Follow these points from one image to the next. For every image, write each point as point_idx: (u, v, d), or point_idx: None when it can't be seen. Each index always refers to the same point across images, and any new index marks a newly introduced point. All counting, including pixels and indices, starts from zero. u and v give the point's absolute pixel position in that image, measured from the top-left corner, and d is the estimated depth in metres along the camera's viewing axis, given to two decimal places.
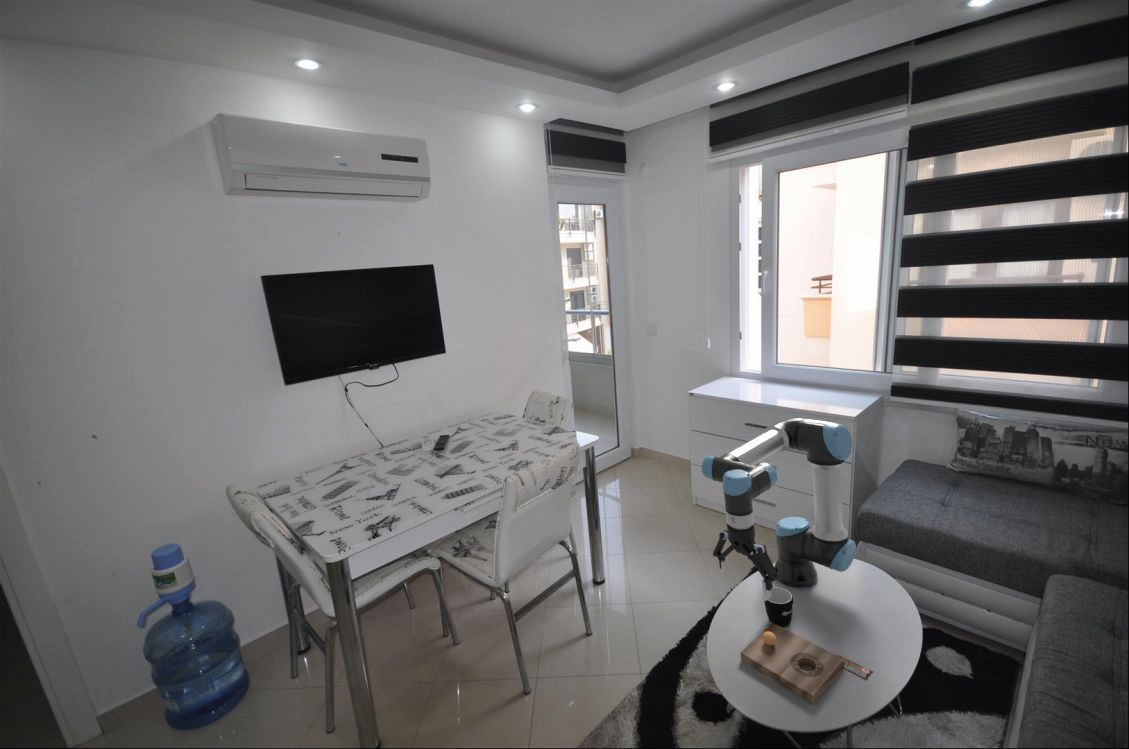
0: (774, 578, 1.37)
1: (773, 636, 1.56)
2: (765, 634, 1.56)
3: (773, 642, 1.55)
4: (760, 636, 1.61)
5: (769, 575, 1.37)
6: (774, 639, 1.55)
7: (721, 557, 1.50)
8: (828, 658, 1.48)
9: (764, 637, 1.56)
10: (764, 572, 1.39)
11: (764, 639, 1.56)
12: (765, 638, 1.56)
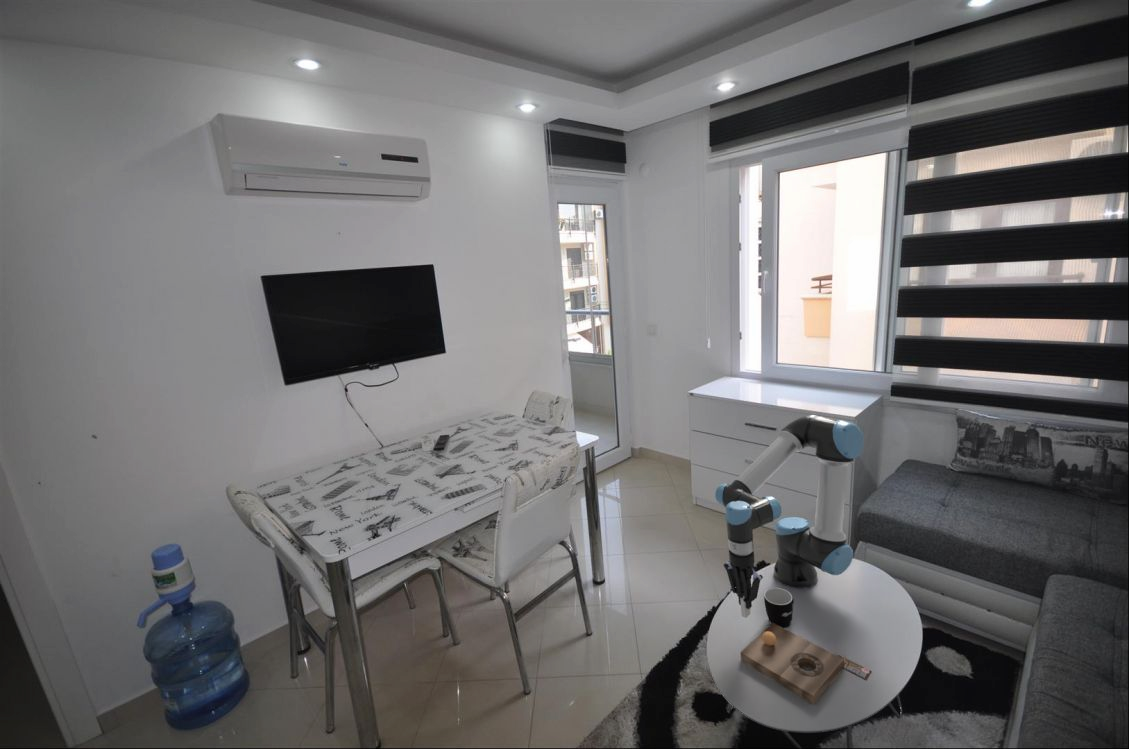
0: None
1: (773, 636, 1.56)
2: (765, 634, 1.56)
3: (773, 642, 1.55)
4: (760, 636, 1.61)
5: (751, 596, 1.57)
6: (774, 639, 1.55)
7: (738, 592, 1.60)
8: (828, 658, 1.48)
9: (764, 637, 1.56)
10: (748, 594, 1.58)
11: (764, 639, 1.56)
12: (765, 638, 1.56)
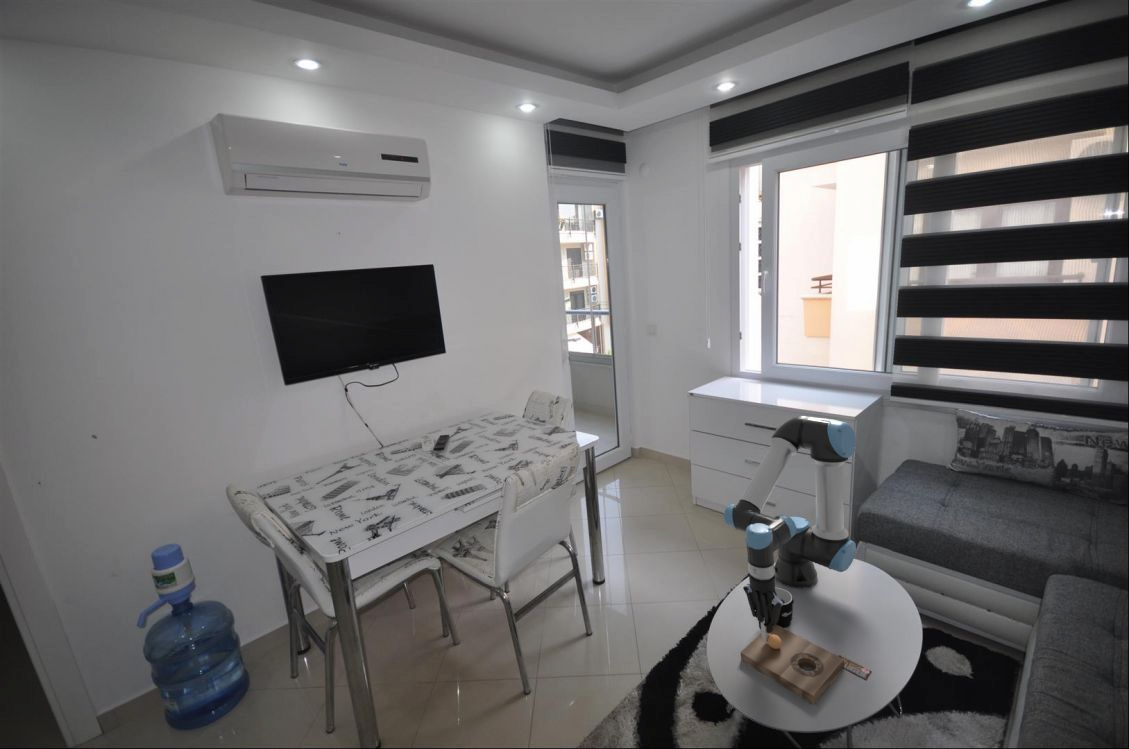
0: None
1: (780, 644, 1.54)
2: (775, 640, 1.54)
3: (777, 648, 1.54)
4: (760, 636, 1.61)
5: (772, 621, 1.52)
6: (779, 646, 1.54)
7: (759, 616, 1.56)
8: (828, 658, 1.48)
9: (773, 643, 1.54)
10: (768, 619, 1.54)
11: (771, 643, 1.54)
12: (773, 643, 1.54)
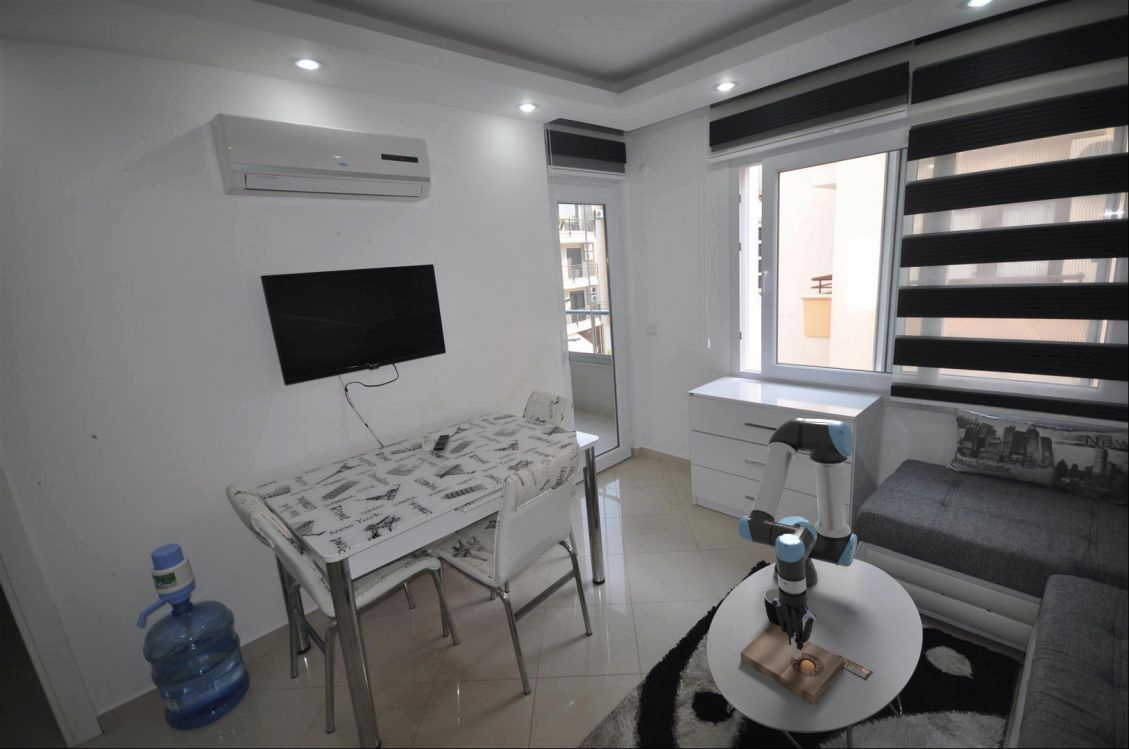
0: None
1: (814, 668, 1.46)
2: (806, 665, 1.46)
3: None
4: (760, 636, 1.61)
5: (803, 637, 1.44)
6: None
7: (789, 632, 1.48)
8: (828, 658, 1.48)
9: (805, 668, 1.46)
10: (800, 634, 1.46)
11: (803, 669, 1.46)
12: (805, 669, 1.46)
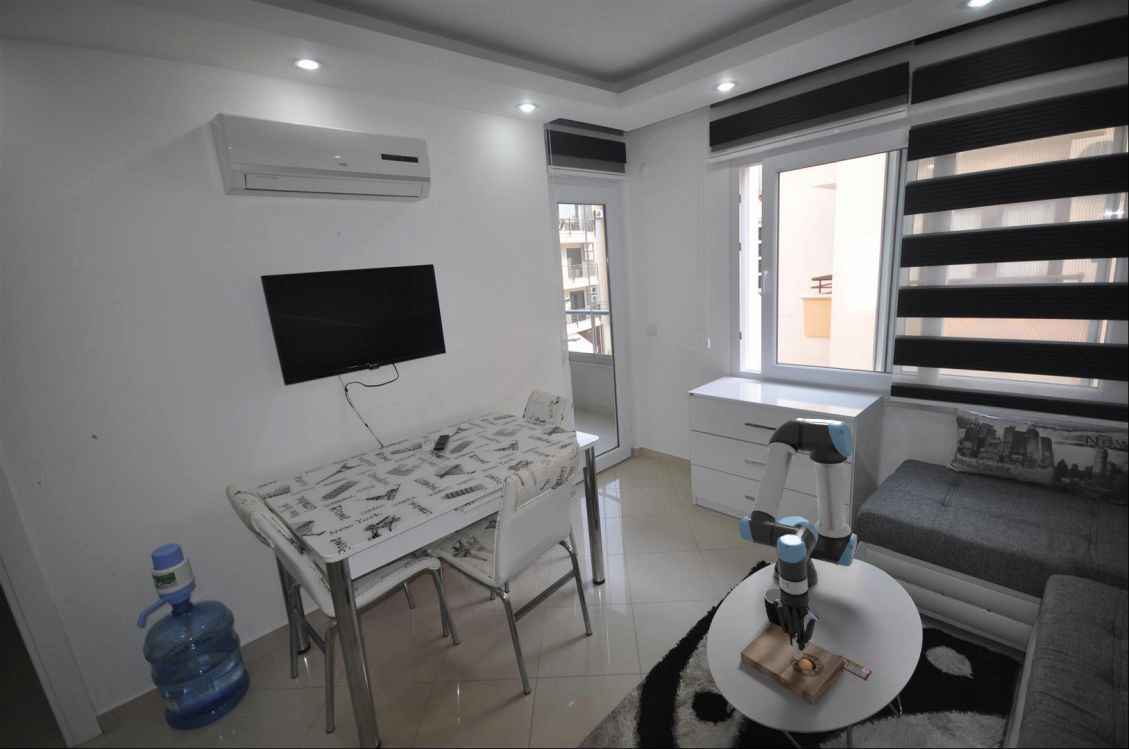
0: None
1: (810, 664, 1.47)
2: (801, 662, 1.48)
3: None
4: (760, 636, 1.61)
5: (805, 638, 1.44)
6: (811, 667, 1.47)
7: (790, 632, 1.48)
8: (828, 658, 1.48)
9: (801, 666, 1.47)
10: (801, 635, 1.46)
11: None
12: (801, 667, 1.47)
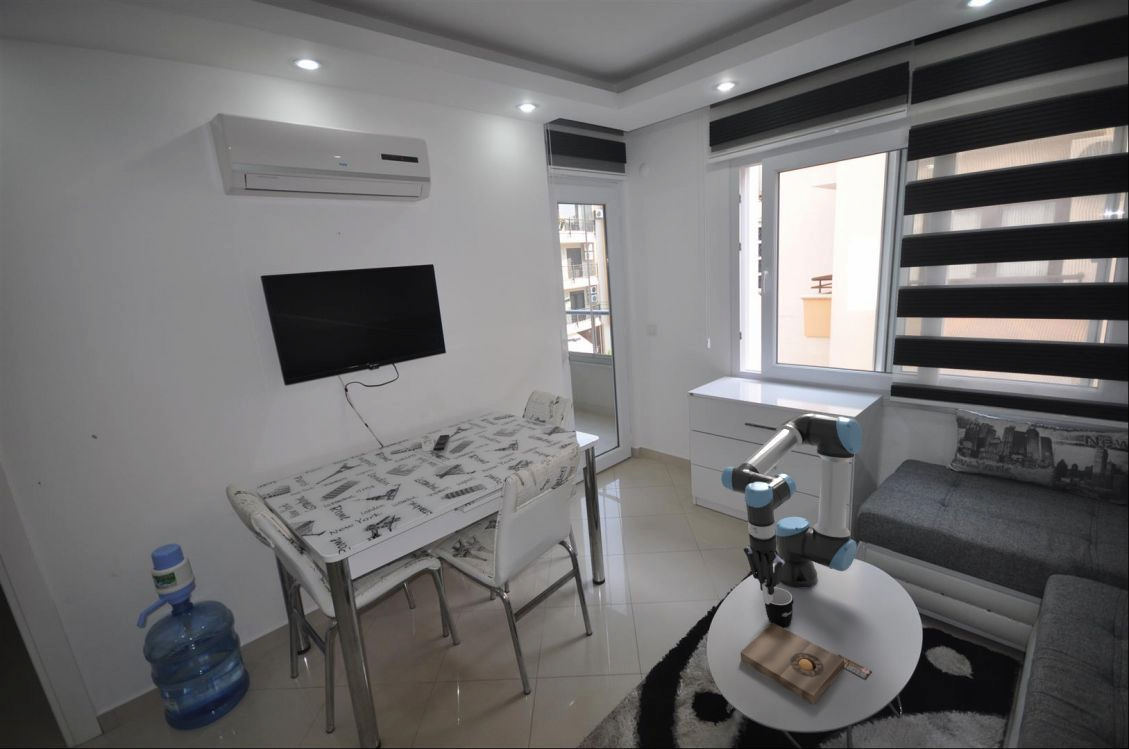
0: None
1: (810, 664, 1.47)
2: (801, 663, 1.48)
3: None
4: (760, 636, 1.61)
5: (773, 582, 1.49)
6: (811, 667, 1.46)
7: (760, 578, 1.52)
8: (828, 658, 1.48)
9: (801, 666, 1.47)
10: (770, 579, 1.50)
11: (801, 668, 1.47)
12: (801, 667, 1.47)
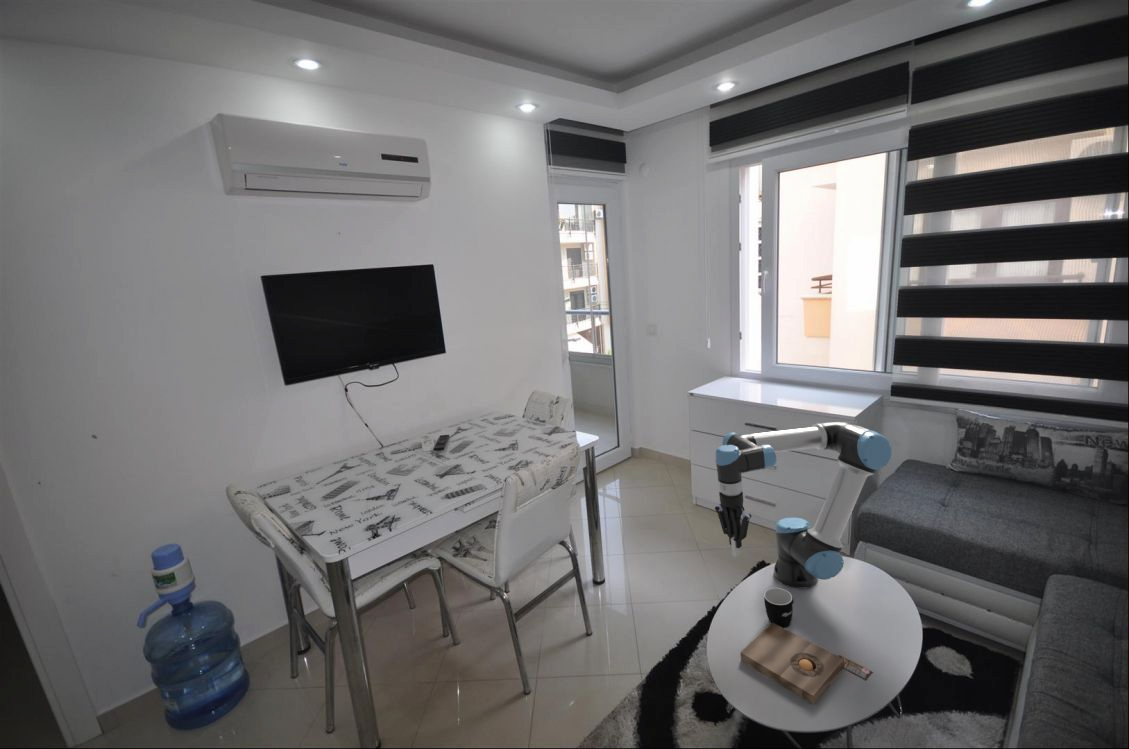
0: (742, 537, 1.65)
1: (810, 665, 1.47)
2: (802, 663, 1.47)
3: None
4: (760, 636, 1.61)
5: (740, 535, 1.65)
6: (811, 668, 1.46)
7: (729, 533, 1.68)
8: (828, 658, 1.48)
9: (801, 666, 1.47)
10: (737, 534, 1.66)
11: (801, 668, 1.47)
12: (802, 667, 1.47)
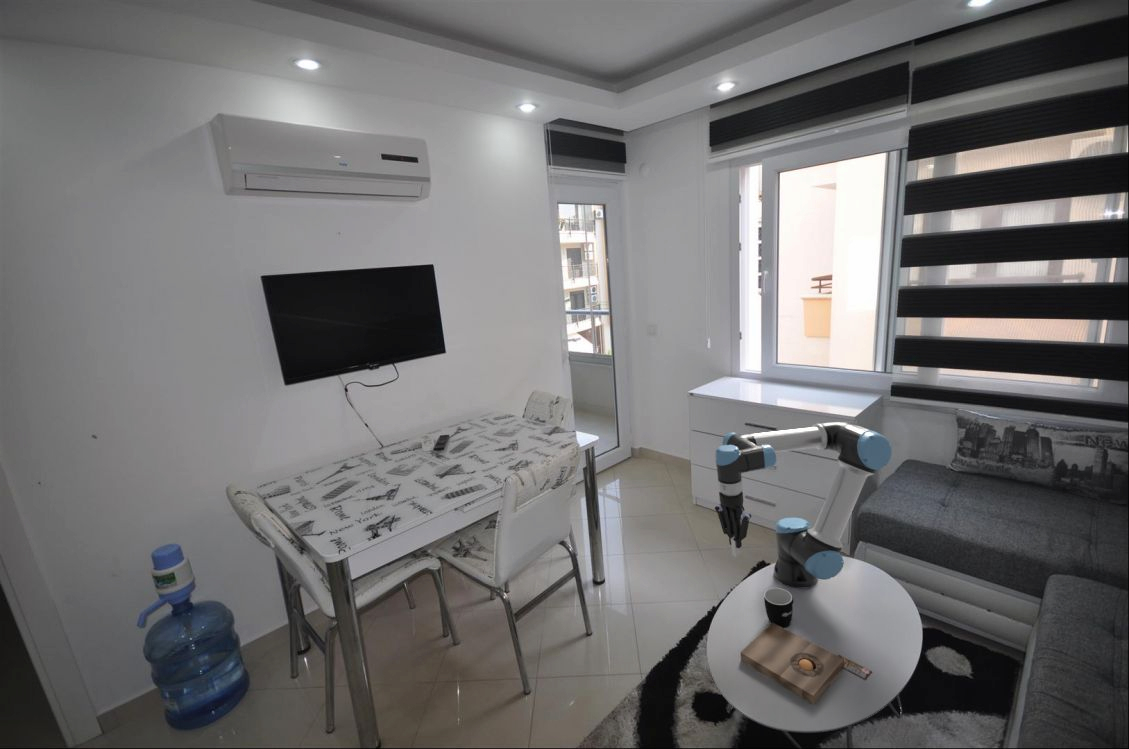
0: (742, 537, 1.65)
1: (810, 665, 1.47)
2: (802, 663, 1.47)
3: None
4: (760, 636, 1.61)
5: (740, 535, 1.65)
6: (812, 668, 1.46)
7: (729, 533, 1.68)
8: (828, 658, 1.48)
9: (802, 666, 1.47)
10: (737, 534, 1.66)
11: (801, 668, 1.47)
12: (802, 667, 1.47)
